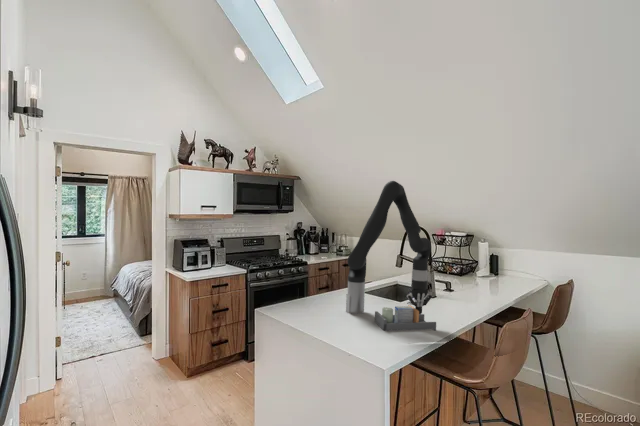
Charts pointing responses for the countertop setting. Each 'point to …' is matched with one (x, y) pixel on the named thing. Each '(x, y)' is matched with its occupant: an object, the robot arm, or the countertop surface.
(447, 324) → the countertop surface
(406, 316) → the medicine box
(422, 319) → the pusher lane
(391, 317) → the sage jar
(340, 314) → the countertop surface
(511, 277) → the countertop surface
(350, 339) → the countertop surface
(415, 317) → the pusher paddle
